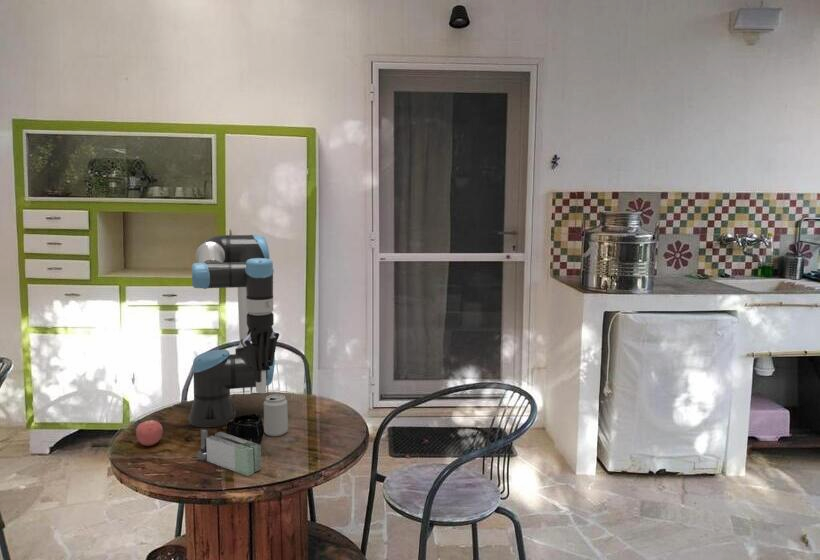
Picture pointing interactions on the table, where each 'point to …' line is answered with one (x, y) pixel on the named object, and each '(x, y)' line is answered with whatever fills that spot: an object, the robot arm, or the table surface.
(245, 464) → the base
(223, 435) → the tong jaw
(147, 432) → the apple
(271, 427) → the can
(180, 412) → the table surface
